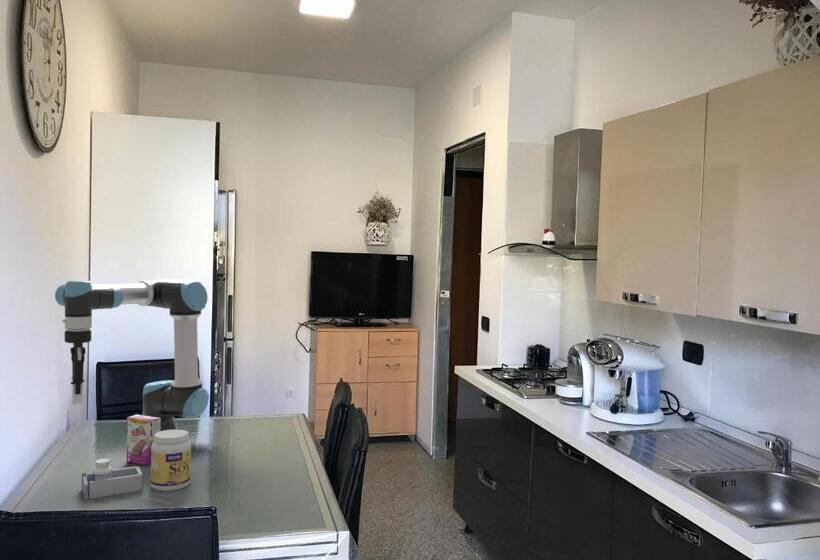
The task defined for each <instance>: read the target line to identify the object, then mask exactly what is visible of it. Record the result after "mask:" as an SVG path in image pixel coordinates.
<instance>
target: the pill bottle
mask: <svg viewBox="0 0 820 560" xmlns="http://www.w3.org/2000/svg"><path fill="white" fill-rule="evenodd" d="M110 460H111V459H109V458H100V459H97V460H95V464H94V466H95V467H94V468H93V470H92V473H93V481H96V480H103V479H109V478H112V470H113V467H112V466H110V463H111V461H110Z"/></svg>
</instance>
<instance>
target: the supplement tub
mask: <svg viewBox="0 0 820 560" xmlns="http://www.w3.org/2000/svg"><path fill="white" fill-rule="evenodd" d="M189 439H190V436H189V431H188V430H184V429H178V430H164V431H160V432H157V433H155V435H154V441H155V442H154V443H153V444H152V447H151V466H150V486H151V488H152V489H154V490H156V491H162V492H170V491H171V492H173V491H176V490H177V491H178V490H181V489H183V488H185V487H188V486H189V484H190V483H191V476H192V475H191V469H192V465H191V464H192V463H191V462H192V443H191V441H190V440H189Z"/></svg>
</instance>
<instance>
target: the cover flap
mask: <svg viewBox="0 0 820 560" xmlns="http://www.w3.org/2000/svg"><path fill="white" fill-rule="evenodd" d="M81 491H82V493H83V497H84V500H89V490H88V482H87V472H82V473H81Z"/></svg>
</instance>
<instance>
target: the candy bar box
mask: <svg viewBox="0 0 820 560" xmlns="http://www.w3.org/2000/svg"><path fill="white" fill-rule="evenodd" d="M160 431H161V418H157V417H150V416H144V415H143V414H134V415H130V416H127V418H126V463H129V464H136V465H142V466H147V467H151V447H152V444H153V443H154V442H155V441H154V435H155V433H157V432H160Z"/></svg>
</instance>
